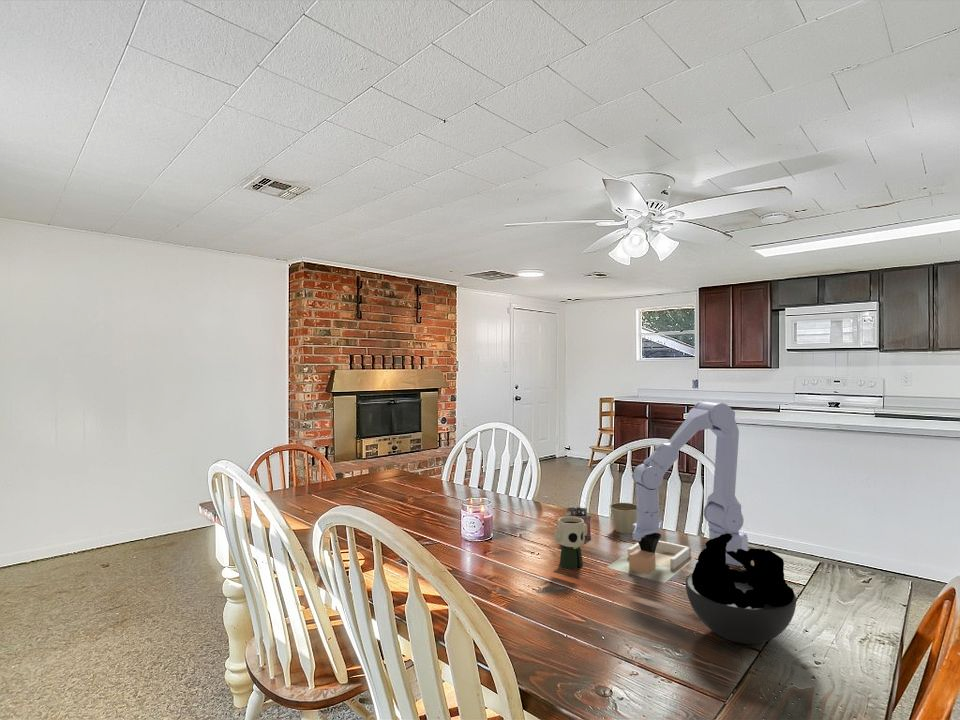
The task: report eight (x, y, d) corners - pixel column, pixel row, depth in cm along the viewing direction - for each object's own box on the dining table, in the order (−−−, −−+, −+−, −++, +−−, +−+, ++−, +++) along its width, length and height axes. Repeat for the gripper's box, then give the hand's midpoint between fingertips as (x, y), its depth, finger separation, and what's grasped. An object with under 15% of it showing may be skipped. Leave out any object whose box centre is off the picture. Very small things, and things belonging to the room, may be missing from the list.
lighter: (590, 537, 171) (590, 505, 171) (591, 540, 167) (591, 508, 167) (564, 536, 171) (564, 505, 171) (565, 540, 168) (564, 508, 168)
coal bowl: (796, 677, 95) (794, 570, 95) (676, 647, 105) (675, 550, 105) (798, 628, 112) (796, 537, 112) (695, 606, 122) (694, 523, 122)
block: (655, 568, 142) (655, 553, 142) (647, 574, 138) (647, 558, 138) (637, 564, 145) (637, 549, 145) (629, 569, 141) (629, 554, 141)
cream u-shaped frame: (690, 556, 150) (690, 547, 150) (674, 569, 141) (674, 559, 141) (646, 546, 159) (645, 537, 159) (627, 557, 150) (627, 548, 150)
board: (696, 561, 149) (696, 557, 149) (664, 587, 133) (664, 582, 133) (641, 548, 160) (641, 545, 160) (605, 571, 143) (605, 567, 143)
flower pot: (633, 540, 167) (633, 512, 167) (605, 534, 173) (604, 507, 173) (644, 532, 175) (644, 505, 175) (617, 527, 181) (616, 501, 181)
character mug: (563, 577, 140) (562, 526, 140) (547, 568, 146) (546, 519, 146) (595, 568, 145) (595, 520, 145) (578, 560, 151) (577, 513, 151)
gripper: (644, 502, 153) (645, 550, 153) (621, 513, 142) (622, 565, 142) (669, 506, 148) (670, 555, 148) (647, 518, 137) (647, 571, 137)
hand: (648, 560), depth 145 cm, fingers closed
